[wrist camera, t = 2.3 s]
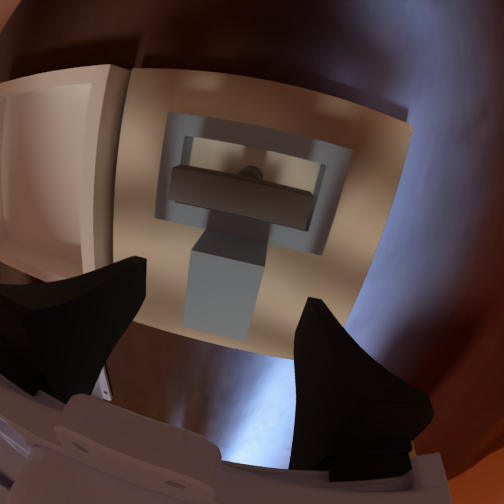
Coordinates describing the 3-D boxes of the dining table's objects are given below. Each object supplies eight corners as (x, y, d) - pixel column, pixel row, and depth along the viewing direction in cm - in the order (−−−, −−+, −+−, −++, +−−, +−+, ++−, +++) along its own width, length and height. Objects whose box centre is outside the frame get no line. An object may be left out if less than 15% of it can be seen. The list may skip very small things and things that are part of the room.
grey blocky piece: (297, 305, 16) (301, 352, 13) (159, 273, 16) (131, 311, 13) (345, 148, 13) (370, 154, 9) (179, 114, 13) (144, 109, 9)
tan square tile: (323, 354, 19) (330, 416, 14) (122, 307, 19) (85, 355, 14) (405, 125, 13) (461, 127, 8) (140, 71, 13) (83, 53, 8)
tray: (115, 283, 18) (98, 302, 16) (6, 244, 18) (-12, 255, 16) (132, 71, 13) (110, 64, 10) (7, 86, 13) (-14, 87, 10)
